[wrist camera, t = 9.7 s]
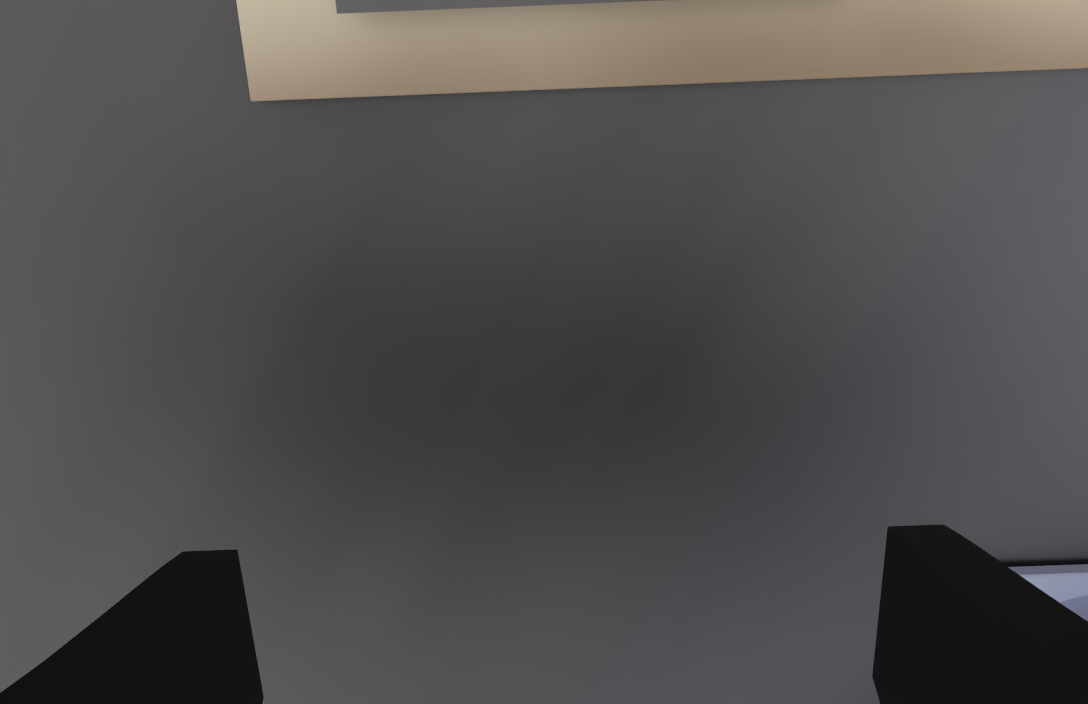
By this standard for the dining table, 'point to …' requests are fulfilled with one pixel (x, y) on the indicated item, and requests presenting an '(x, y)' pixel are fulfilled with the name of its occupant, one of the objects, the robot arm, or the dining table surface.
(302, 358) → the dining table surface
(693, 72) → the rail
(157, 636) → the robot arm
